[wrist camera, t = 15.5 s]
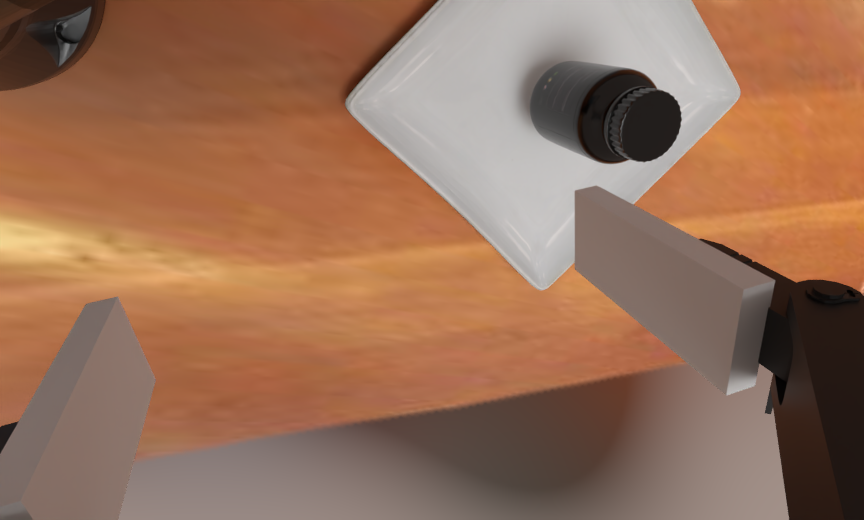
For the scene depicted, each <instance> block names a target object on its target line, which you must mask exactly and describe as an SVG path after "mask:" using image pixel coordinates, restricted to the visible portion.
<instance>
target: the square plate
mask: <svg viewBox="0 0 864 520" xmlns="http://www.w3.org/2000/svg"><path fill="white" fill-rule="evenodd" d="M566 61H580V62H588V63H595V64H602V65H609V66H617V67H624V68H630V69H634V70H637V71H640V72H642V73H644V74H645V75H647V76H648V77H649V78H650V79H651V80H652V81H653V82H654V84H655V85H656V87H657V89H660V90H663V91H665V92H668V93H670V95H672V96H674V98H675V100H677V101H678V105H679V106H680V111H681V112H682V113H681V118H682V121H681V127H680V129H679V134H678V135H677V138H676V140H675V142H674V143H673V145H672V146H671V147H670V148H669V150H668V151H667V152H665V153H664V154H663V155H662V156H660V157H658V158H657V159H654V160H652V161H647V162H636V161H633V160H628V161H626V162H623V163H618V164H603V163H599V162H596V161H594V160H591V159H589V158H587V157H584V156H582V155H580V154H578V153H575V152H573V151H571V150H568V149H566V148H564V147H561V146H559V145H557V144H555V143H553V142H550V141H548V140H547V139H545V138H544V137H542V136H541V135H540V134H539V133H538V132H537V130H536V129H535V127H534V125H533V123H532V120H531V116H530V99H531V95H532V92H533V89H534V87H535V85H536V83H537V81H538V80H539V79H540V77H541V76H542V75H543V74H544V73H545V72H546V71H547V70H548V69H550V68H551V67H553V66H554V65H556V64H559V63H561V62H566ZM740 94H741V93H740V87H739V85H738V83H737V81H736V79H735V77H734V76H733V74H732V72H731V70H730V68H729V66H728V64H727V62H726V61H725V59H724V57H723V55H722V53H721V52H720V50H719V48H718V46H717V45H716V43H715V41H714V39H713V38H712V36H711V34H710V32H709V31H708V29H707V27H706V25H705V24H704V22H703V20H702V18H701V16H700V15H699V13H698V11H697V9H696V7H695V5H694V4H693V2H692V0H438V1H437V2H436V3H435V4H434V5H433V6H432V7H431V8H430V9H429V11H428V12H427V13H426V14H425V15H424V16H423V17H422V18H421V19H420V20H419V21H418V22H417V23H416V24H415V25H414V26H413V27H412V28H411V29H410V30H409V31H408V32H407V33H406V34H405V35H404V36H403V37H402V38H401V39H400V40H399V41H398V42H397V43H396V44H395V45H394V46H393V47H392V48H391V49H390V50H389V51H388V52H387V53H386V55H385V56H384V57H383V58H382V59H381V60H380V61H379V62H378V63H377V64H376V65H375V66H374V67H373V68H372V69H371V70H370V71H369V72H368V73H367V74H366V75H365V77H364V78H363V79H362V80H361V81H360V82H359V83H358V84H357V85H356V87H355V88H354V89H353V90H352V92H351V93H350V94H349V95H348V97H347V99H346V102H345V106H346V108H347V109H348V111H349V112H350V114H351V115H352V116H353V117H354V118H355V119H356V120H357V121H358V122H359V123H360V124H361V125H362V126H363V127H364V128H365V129H366V130H367V131H368V132H370V133H371V134H372V135H373V136H374V137H375V138H376V139H377V140H379V141H380V142H381V143H382V144H383V145H384V146H385V147H387V148H388V149H389V150H390V151H391V152H392V153H393V154H394V155H395V156H397V157H398V158H399V159H400V160H401V161H402V162H404V163H405V164H406V165H407V166H408V167H409V168H410V169H411V170H413V171H414V172H415V173H416V174H417V175H418V176H419V177H420V178H422V179H423V180H424V181H425V182H426V183H427V184H428V185H429V186H431V187H432V188H433V189H434V190H435V191H436V192H437V193H438V194H439V195H440V196H441V197H443V198H444V199H445V200H446V201H447V202H448V203H449V204H450V205H451V206H452V207H453V208H454V209H455V210H457V211H458V212H459V213H460V214H461V215H462V216H463V217H464V218H465V219H466V220H467V221H468V222H469V223H470V224H471V225H472V226H473V227H474V228H475V229H476V230H477V231H478V232H479V233H480V234H481V235H482V236H483V237H484V238H485V239H486V240H487V241H488V242H489V243H490V244H491V245H492V246H493V247H494V248H495V249H496V250H497V251H498V252H499V253H500V254H501V255H502V256H503V257H504V258H505V259H506V260H507V261H508V262H509V263H510V264H511V265H512V266H513V267H514V268H515V269H516V271H517V272H518V273H519V274H520V275H521V276H523V277H524V278H525V279H526V280H527V281H528V282H529V283H530V284H531V285H532V286H534V287H535V288H536V289H538V290H545V289H547V288H548V287H549V286H551V285H552V284H553V283H554V282H555V281H556V280H557V279H558V278H559V277H560V276H561V275H562V274H563V273H564V272H565V271H566V270H567V269H568V268H569V267H570V266H571V265H572V264H573V263H574V262H575V190H579V189H583V188H587V187H592V186H596V185H597V186H599V187H601V188H603V189H605V190H607V191H609V192H610V193H612V194H614V195H616V196H618V197H620V198H622V199H624V200H625V201H627V202H629V203H631V204H634V203H635V202H636V201H637V200H638V199H639V198H640V197H641V196H642V195H643V194H644V193H645V192H646V191H647V190H648V189H649V188H650V187H651V186H652V185H653V184H654V183H655V182H656V181H657V180H659V179H660V178H661V177H662V176H663V175H664V174H665V173H666V172H667V171H668V170H669V169H670V168H671V167H672V166H673V165H674V164H675V163H676V162H677V161H678V160H679V159H680V158H681V157H682V156H683V155H684V154H685V153H686V152H687V151H688V150H689V149H690V148H691V147H692V146H693V145H694V144H695V143H696V142H697V141H698V140H699V139H700V138H701V137H702V136H703V135H704V134H705V133H706V132H707V131H708V130H709V129H710V128H711V127H712V126H713V125H714V124H715V123H716V122H717V121H718V120H719V119H720V118H721V117H722V116H723V115H724V114H725V113H726V112H727V111H728V110H729V109H730V108H731V107H732V106H733V105H734V104H735V103H736V101H737V100H738V99H739V97H740Z"/></svg>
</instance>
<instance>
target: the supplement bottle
mask: <svg viewBox="0 0 864 520" xmlns="http://www.w3.org/2000/svg"><path fill="white" fill-rule="evenodd" d="M681 113H682V112H681V111H680V106H679V105H678V101H677V100H675V98H674V96H672V95H670V93H668V92H665V91H663V90H660V89H657V87H656V85H655V84H654V82H653V81H652V80H651V79H650V78H649V77H648V76H647V75H645V74H644V73H642V72H640V71H637V70H634V69H630V68H624V67H617V66H609V65H602V64H595V63H588V62H580V61H566V62H561V63H559V64H556V65H554V66H553V67H551V68H550V69H548V70H547V71H546V72H545V73H544V74H543V75H542V76H541V77H540V79H539V80H538V81H537V83H536V85H535V87H534V89H533V92H532V95H531V99H530V116H531V120H532V123H533V125H534V127H535V129H536V130H537V132H538V133H539V134H540V135H541V136H542V137H544V138H545V139H547V140H548V141H550V142H553V143H555V144H557V145H559V146H561V147H564V148H566V149H568V150H571V151H573V152H575V153H578V154H580V155H582V156H584V157H587V158H589V159H591V160H594V161H596V162H599V163H603V164H618V163H623V162H626V161H628V160H633V161H636V162H647V161H652V160H654V159H657V158H658V157H660V156H662V155H663V154H664V153H665V152H667V151H668V150H669V148H670V147H671V146H672V145H673V143H674V142H675V140H676V138H677V135H678V134H679V129H680V127H681V121H682V118H681Z"/></svg>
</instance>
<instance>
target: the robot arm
mask: <svg viewBox="0 0 864 520" xmlns="http://www.w3.org/2000/svg"><path fill="white" fill-rule="evenodd" d="M104 6H105V0H0V91H5V90H14V89H19V88H24V87H27V86H31V85H34V84H37V83H40V82H43V81H45V80H48V79H51V78H53V77H55V76H57V75H59V74H61V73H62V72H64V71H66V70H67V69H69V68H70V67H71V66H73V65H74V64H75V63H76V62H77V61H78V60H79V59H80V58H81V57H82V56H83V55H84V54H85V53H86V51H87V50H88V49H89V47H90V46H91V44H92V43H93V41H94V39H95V37H96V35H97V33H98V30H99V28H100V25H101V22H102V17H103V13H104ZM575 270H576V271H578V272H579V273H580V274H581V275H582V276H584V277H585V278H586V279H587V280H588V281H590V282H591V283H592V284H593V285H594V286H596V287H597V288H598V289H599V290H600V291H602V292H603V293H604V294H605V295H606V296H608V297H609V298H610V299H611V300H612V301H614V302H615V303H616V304H617V305H618V306H620V307H621V308H622V309H623V310H624V311H626V312H627V313H628V314H629V315H630V316H632V317H633V318H634V319H635V320H636V321H638V322H639V323H640V324H641V325H642V326H644V327H645V328H646V329H647V330H648V331H650V332H651V333H652V334H653V335H654V336H656V337H657V338H658V339H659V340H660V341H662V342H663V343H664V344H665V345H666V346H668V347H669V348H670V349H671V350H672V351H674V352H675V353H676V354H677V355H678V356H680V357H681V358H682V359H683V360H684V361H686V362H687V363H688V364H689V365H690V366H692V367H693V368H694V369H695V370H696V371H698V372H699V373H700V374H701V375H702V376H704V377H705V378H706V379H707V380H708V381H710V382H711V383H712V384H713V385H714V386H716V387H717V388H718V389H719V390H721V391H722V392H723V393H724V394H725V395H729V394H732V393H735V392H738V391H741V390H744V389H747V388H750V387H753V386H755V383H756V377H757V372H758V367H759V363H760V364H761V365H763V366H764V367H765V368H767V369H768V370H770V371H771V372H772V373H773V377H772V382H771V387H770V392H769V396H768V402H767V406H766V410H765V413H767V414H771V411H772V408H773V409H774V416H775V423H776V430H777V437H778V444H779V450H780V458H781V465H782V472H783V479H784V486H785V493H786V500H787V506H788V514H789V520H864V296H863V295H862V294H861V292H859V291H857V290H855V289H853V288H852V287H850V286H847V285H843V284H840V283H837V282H832V281H826V280H806V281H801V282H798V283H796V282H794V281H792V280H790V279H788V278H786V277H784V276H782V275H780V274H778V273H776V272H775V271H773V270H771V269H769V268H767V267H765V266H763V265H761V264H759V263H757V262H752V260H751V259H749V258H747V257H745V256H744V255H739V253H738V252H736V251H734V250H732V249H730V248H728V247H726V246H724V245H722V244H719V243H715V242H711V241H708V240H704V239H697V238H695V237H693V236H691V235H689V234H687V233H685V232H684V231H682V230H680V229H678V228H676V227H674V226H672V225H670V224H669V223H667V222H665V221H663V220H661V219H659V218H657V217H655V216H654V215H652V214H650V213H648V212H646V211H644V210H642V209H640V208H639V207H637V206H635V205H633V204H631V203H629V202H627V201H625V200H624V199H622V198H620V197H618V196H616V195H614V194H612V193H610V192H609V191H607V190H605V189H603V188H601V187H599V186H597V185H596V186H592V187H587V188H583V189H579V190H575ZM155 381H156V379H155V377H154V375H153V373H152V370H151V368H150V366H149V364H148V362H147V359H146V357H145V355H144V353H143V351H142V348H141V346H140V344H139V342H138V340H137V337H136V335H135V333H134V331H133V329H132V326H131V324H130V322H129V320H128V318H127V315H126V313H125V311H124V309H123V307H122V304H121V302H120V300H119V298H118V297H114V298H110V299H105V300H101V301H97V302H92V303H88V304H86V305H85V307H84V308H83V310H82V312H81V314H80V315H79V317H78V319H77V321H76V322H75V324H74V326H73V328H72V329H71V331H70V333H69V335H68V336H67V338H66V340H65V342H64V343H63V345H62V347H61V349H60V350H59V352H58V354H57V356H56V357H55V359H54V361H53V363H52V364H51V366H50V368H49V370H48V371H47V373H46V375H45V377H44V378H43V380H42V382H41V384H40V385H39V387H38V389H37V391H36V392H35V394H34V396H33V398H32V399H31V401H30V403H29V405H28V406H27V408H26V410H25V412H24V413H23V415H22V417H21V419H20V420H19V422H15V423H11V424H8V425H4V426H1V427H0V520H118V518H119V514H120V510H121V506H122V503H123V499H124V495H125V492H126V488H127V484H128V481H129V477H130V473H131V470H132V466H133V462H134V459H135V455H136V451H137V447H138V444H139V440H140V436H141V433H142V429H143V425H144V422H145V418H146V414H147V410H148V407H149V403H150V399H151V396H152V392H153V388H154V385H155Z"/></svg>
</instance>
